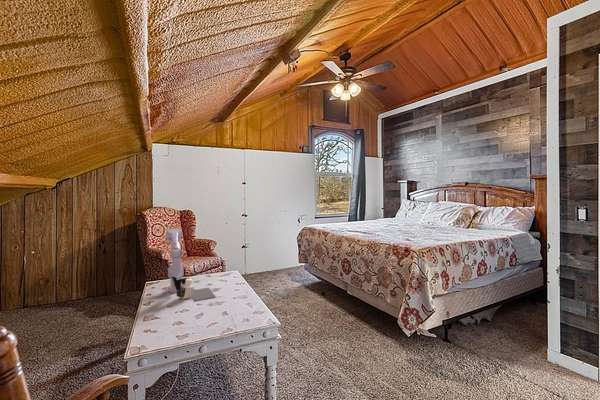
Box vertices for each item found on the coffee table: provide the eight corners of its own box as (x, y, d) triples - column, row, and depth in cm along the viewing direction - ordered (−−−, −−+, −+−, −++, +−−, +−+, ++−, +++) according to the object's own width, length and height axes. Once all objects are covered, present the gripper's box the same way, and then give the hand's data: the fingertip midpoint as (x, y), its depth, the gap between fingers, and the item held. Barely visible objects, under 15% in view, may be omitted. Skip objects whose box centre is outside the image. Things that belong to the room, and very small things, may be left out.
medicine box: (176, 296, 181) (179, 277, 182) (184, 294, 187) (187, 276, 188) (183, 299, 178) (186, 280, 178) (192, 297, 184) (195, 278, 185)
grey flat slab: (189, 291, 194) (189, 291, 193) (208, 288, 200) (208, 287, 200) (194, 301, 176) (194, 300, 176) (215, 297, 183) (215, 296, 183)
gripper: (169, 266, 187) (169, 286, 187) (171, 270, 174) (171, 292, 175) (180, 264, 190) (181, 284, 191) (183, 269, 178) (183, 290, 178)
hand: (177, 288), depth 183 cm, fingers open, 7 cm apart
